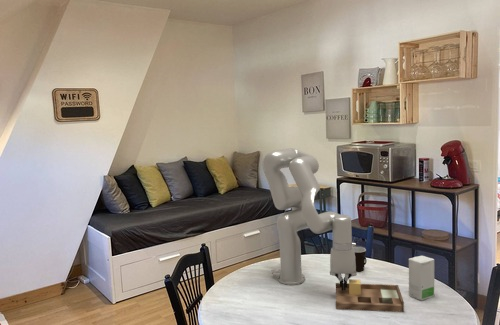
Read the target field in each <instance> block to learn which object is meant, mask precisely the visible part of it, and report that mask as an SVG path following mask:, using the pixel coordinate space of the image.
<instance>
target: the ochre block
mask: <svg viewBox="0 0 500 325" xmlns="http://www.w3.org/2000/svg"><path fill="white" fill-rule="evenodd" d="M348 283H349V294H352V295H361V284H362V283H361V279H355V278H354V279H350V278H349V279H348Z"/></svg>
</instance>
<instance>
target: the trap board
mask: <svg viewBox="0 0 500 325" xmlns="http://www.w3.org/2000/svg"><path fill="white" fill-rule="evenodd" d="M404 304H405V301H404V298H403V295H402V291H401V290H400V286H399V284H382V283H381V284H373V283H361V295H352V294H349V282H347V288H346V290H344V282H343V290H342V287H340V282H336V283H335V309H336V310H346V311H347V310H349V311H351V310H352V311H373V312H392V313H393V312H394V313H396V312H397V313H404V312H405V311H404V310H405V309H404V308H405V305H404Z"/></svg>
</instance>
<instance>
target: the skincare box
mask: <svg viewBox="0 0 500 325" xmlns="http://www.w3.org/2000/svg"><path fill="white" fill-rule="evenodd" d="M408 296H410V297H411V298H414V299H416V300H419V301H425V300H427V299H430V298H435V259H434V258H432V257H429V256H425V255H419V256H414V257H411V258H408Z"/></svg>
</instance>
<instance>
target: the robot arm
mask: <svg viewBox="0 0 500 325" xmlns="http://www.w3.org/2000/svg"><path fill="white" fill-rule="evenodd" d="M319 167H320V165H319V162H318V159H316V157H315V156H313V155H312V154H310V153H307V152H304V151H301V150H299V149H296V148H285V149H284V148H282V149H276V150H272V151H269V152H268V153H267V154H265V155H264V157H263V160H262V170H263V174H264V176H265V178H266V181H267V183H268V186H269V191H270V194H271V197H272V200H273V201H272V202H273V204H274V208H276V209H277V210H279V211H283V210H288V209H291V210H289V211H286V212H284V213H281V214H280V215H279V216H278V217H277V219H276V222H275V223H276V229H277V233H278V240H279V243H278V244H279V259H280V260H279V261H280V264H279V265H280V269H278V270H277V269H271V272H270V273H271V275H272V276H274V277H277V281H278V282H279V283H281V284H283V285H287V286H294V285H301V284H302V283H304V282H306V276H305V275H304V274H303V273H302V250H301V249H302V248H301V247H302V246H301V239H300V237H299V235H298V232H299V231H302V230H304V229H307V228H308V229H309V230H310V231H311V232H312V233H313V234H318V235H319V234H320V235H321V234H323V233H326V232H328V231H331V230H332V247H331V249H330V253H329V254H330V257H329V258H330V259H329V262H330V264H329V269H330V271H329V275H330V276H332V277H336V278H337V279H338V281H339V283H340V287H342V290H343V283H344V290H346V288H347V283H348V282H349V279H350V278H351V277H356V276H357V274H358V272H356V260H355V252H354V248H352V247H357V246H356V242H354V241H352V240H353V238H352V236H353V235H352V234H353V233H352V218H351V216H349V215H347V214H340V213H337V212H334V211H324V212H321V213H319V212H318V210H317V209H316V206H315V197H316V196H317V193H318V192H319V191H320V190H321V186H320V184H319V182H318V179H317V178H316V176H315V175H314V174H316V173H317V172H318V171H319V169H320V168H319ZM286 168H288V170H289V172H290V174H291V176H292V178H293V180H294V182H295V184H296V186H294V185H293V186H289V184H288V179H287V177H286V176H285V174H284V173H283V172H282V170H281V169H286ZM342 274H344V278H343V276H342Z"/></svg>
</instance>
